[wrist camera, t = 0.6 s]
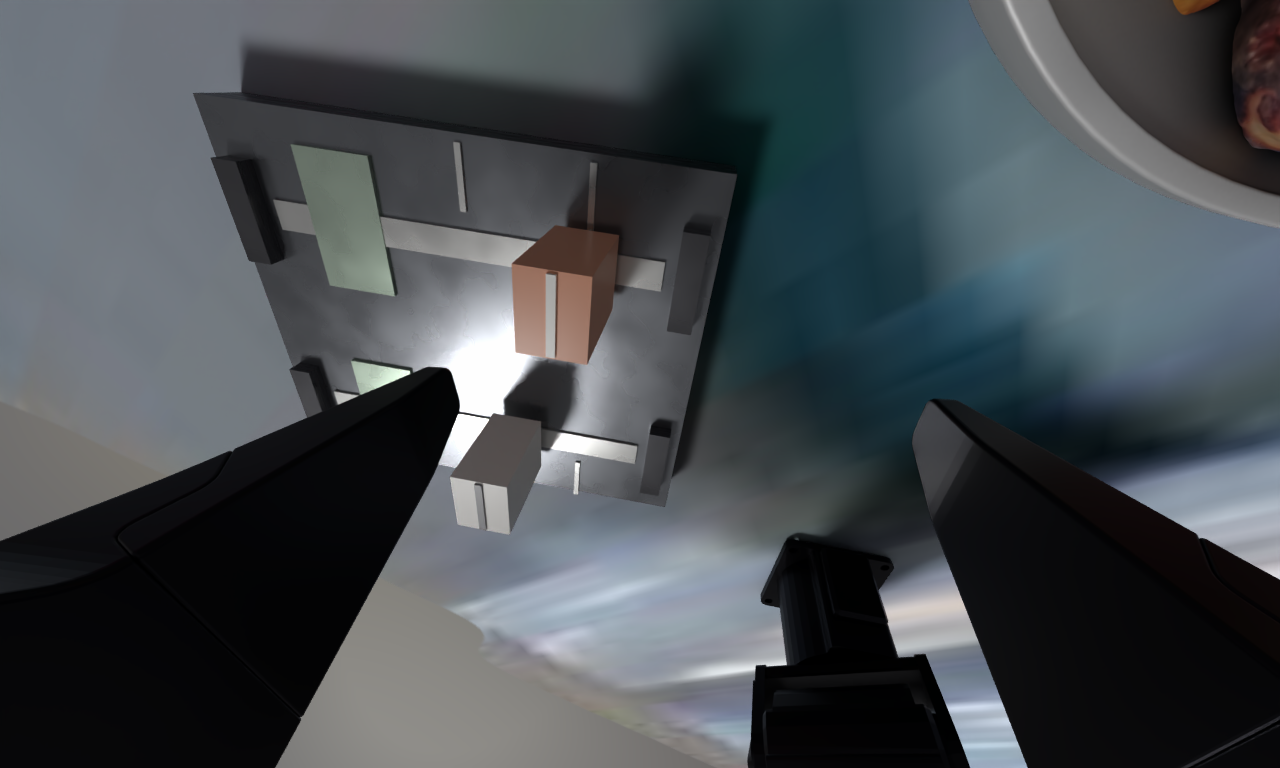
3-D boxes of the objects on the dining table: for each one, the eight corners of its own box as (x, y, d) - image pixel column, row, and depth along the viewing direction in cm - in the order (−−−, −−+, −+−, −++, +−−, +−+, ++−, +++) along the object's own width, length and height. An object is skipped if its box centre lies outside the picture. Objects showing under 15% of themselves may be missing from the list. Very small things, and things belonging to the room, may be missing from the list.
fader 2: (612, 309, 18) (586, 366, 15) (554, 300, 19) (514, 354, 15) (619, 235, 17) (591, 278, 13) (555, 225, 17) (510, 264, 13)
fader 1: (541, 466, 24) (509, 536, 20) (496, 457, 24) (456, 526, 20) (540, 421, 22) (505, 489, 18) (493, 413, 22) (448, 478, 19)
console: (667, 483, 27) (663, 519, 25) (344, 423, 28) (312, 453, 26) (734, 166, 17) (737, 177, 15) (239, 92, 18) (174, 93, 16)
